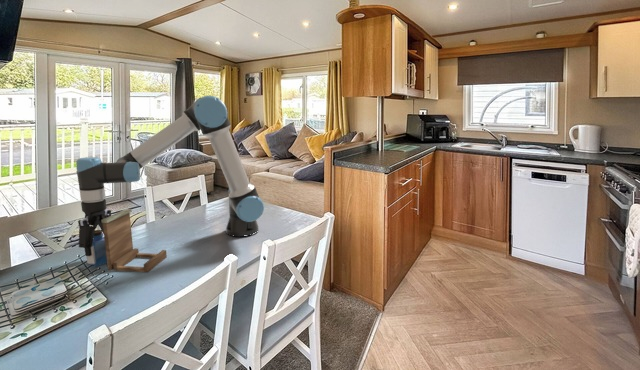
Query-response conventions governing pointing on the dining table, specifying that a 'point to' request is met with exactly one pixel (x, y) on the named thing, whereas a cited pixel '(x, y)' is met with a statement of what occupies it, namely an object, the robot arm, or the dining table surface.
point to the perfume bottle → (99, 248)
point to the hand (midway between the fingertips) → (100, 257)
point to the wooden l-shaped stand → (125, 244)
